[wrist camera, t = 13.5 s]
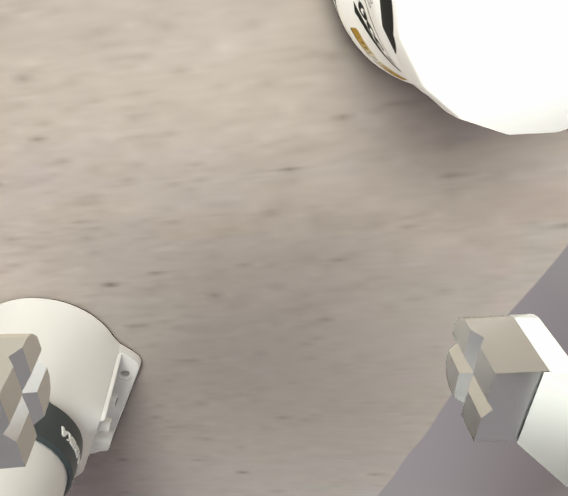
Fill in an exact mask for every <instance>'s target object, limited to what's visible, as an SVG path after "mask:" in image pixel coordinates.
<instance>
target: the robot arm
mask: <svg viewBox="0 0 568 496" xmlns="http://www.w3.org/2000/svg"><path fill="white" fill-rule="evenodd" d="M453 335H454V337H455V339H456V341H457V343H456V344H455V345H454V346H452V347H451V348H450V349H449V350H448V355H447V360H446V375H447V380H448V384H449V387H450V390H451V392H452V394H453V396H454V397H455V398H456V399H458V400H459V401H460V402H462V403H463V404H464V407H463V410H462V417H463V419H464V421H465V423H466V425H467V428H468V430H469V432H470V434H471V436H472V439H473V441H474V442H498V441H518V442H517V443H518V444H519V445H520V446H521V447H522V448H523V449H524V450H525V451H527V452H528V453H529V454H530V455H531V456H532V457H533V458H534V459H536V460H537V461H538V462H539V463H540V464H541V465H542V466H544V467H545V468H546V469H547V470H549V472H550V473H552V474H553V475H554V476H555V477H556V478H557V479H558V480H560V481H561V482H562V483H563V484H564V485H565V486H567V488H568V356H567V355H566V353H565V352H564V351H563V349H562V348H561V347H560V345H559V344H558V343H557V341H556V340H555V339H554V337H553V336H552V335H551V333H550V332H549V331H548V329H547V328H546V327H545V325H544V324H543V323H542V321H541V320H540V319H539V317H537V316H536V315H534V314H520V315H508V316H490V317H467V318H458V320H457V321H456V323H455V326H454V330H453ZM140 365H141V358H140V357H139V356H138V355H137V354H136V353H135V352H133V351H132V350H130V349H128V348H127V347H125V346H123V345H121V344H120V343H119V342H118V341H117V340H116V339H115V338H114V337H113V335H112V334H111V333H110V331H109V330H108V329H107V328H106V327H105V326H104V325H103V324H102V323H101V322H100V321H99V320H98V319H96V318H95V317H94V316H92V315H91V314H89V313H87V312H86V311H84V310H82V309H80V308H78V307H75V306H73V305H70V304H67V303H64V302H60V301H56V300H51V299H43V298H24V299H16V300H12V301H8V302H5V303H2V304H0V496H64V495H65V494H66V493H67V492H68V490H69V489H70V487H71V485H72V483H73V481H74V479H75V477H76V476H78V475H80V474H81V473H82V472H83V471H84V468H85V465H86V462H87V459H88V456H89V454H93V453H97V452H100V451H108V450H109V447H110V444H111V440H112V438H113V435H114V432H115V430H116V427H117V425H118V422H119V420H120V417H121V414H122V412H123V409H124V407H125V404H126V402H127V399H128V396H129V394H130V391H131V389H132V386H133V384H134V381H135V378H136V376H137V373H138V371H139V368H140Z"/></svg>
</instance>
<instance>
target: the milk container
mask: <svg viewBox="0 0 568 496" xmlns="http://www.w3.org/2000/svg"><path fill="white" fill-rule="evenodd" d="M333 1H334V5H335V7H336V10H337V13H338V15H339V17H340V20H341V22H342V24H343V26H344V28H345V29H346V31H347V33H348V34H349V36H350V37H351V39H352V40H353V42H354V43H355V44H356V46H357V47H358V48H359V49H360V50H361V51H362V53H363V54H364V55H365V56H366V57H367V58H368V59H369V60H370V61H372V62H373V63H374V64H375V65H377V66H378V67H379V68H381V69H382V70H384V71H385V72H387V73H389V74H390V75H392V76H394V77H396V78H398V79H400V80H402V81H405V82H408V83H410V84H413V85H414V86H415V87H417V88H418V89H419V90H420V91H422V92H423V93H424V94H426V95H427V96H429V97H430V98H431V99H432V100H433V101H434V102H436V103H437V104H438V105H439V106H440V107H441V108H442V109H443V110H445V111H446V112H447V113H449V114H451V115H453V116H454V117H456V118H459V119H462V120H465V121H468V122H471V123H474V124H477V125H480V126H483V127H486V128H489V129H492V130H495V131H498V132H501V133H504V134H507V135H513V134H532V133H551V132H560V131H563V130H565V129H568V0H333Z"/></svg>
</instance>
